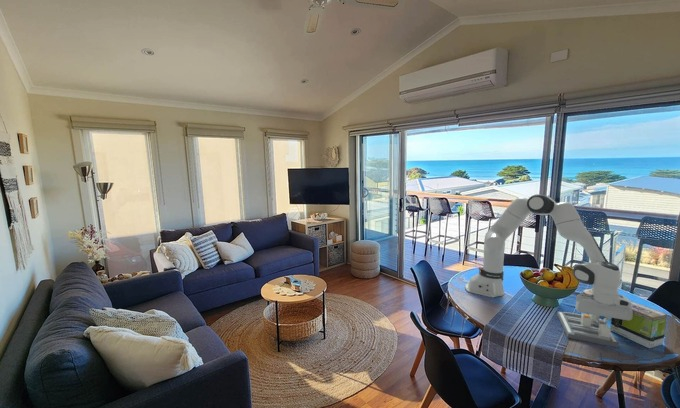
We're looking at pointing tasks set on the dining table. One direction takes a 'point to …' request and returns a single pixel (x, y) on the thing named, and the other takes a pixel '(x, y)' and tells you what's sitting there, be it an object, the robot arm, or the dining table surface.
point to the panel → (586, 329)
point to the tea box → (642, 326)
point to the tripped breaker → (585, 320)
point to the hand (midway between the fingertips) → (601, 323)
